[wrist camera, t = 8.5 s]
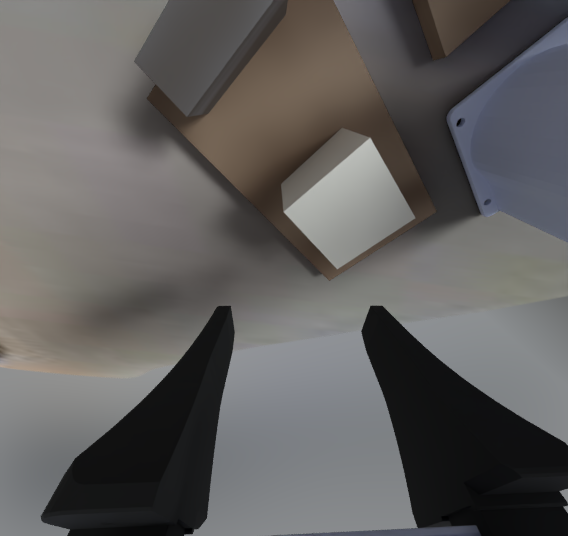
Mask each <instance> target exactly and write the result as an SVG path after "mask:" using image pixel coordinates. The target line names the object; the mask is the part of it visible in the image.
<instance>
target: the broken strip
mask: <svg viewBox="0 0 568 536" xmlns="http://www.w3.org/2000/svg"><path fill="white" fill-rule="evenodd" d="M412 1H413V4H414V7H415V10H416V13H417V16H418V19H419V21H420V24H421V27H422V30H423V33H424V36H425V38H426V41H427V44H428V47H429V50H430V53H431V56H432V58H433V61H434V60H437V59H441V58H445V57H447V56H448V55H449V54H450V53H451V52H452V51H453V50H455V49H456V48H457V47H458V46H459V45H460V44H461V43H463V42H464V41H465V40H466V39H467V38H468V37H469V36H471V35H472V34H473V33H474V32H475V31H476V30H477V29H478V28H480V27H481V26H482V25H483V24H484V23H485V22H486V21H488V20H489V19H490V18H491V17H492V16H493V15H494V14H495V13H497V12H498V11H499V10H500V9H501V8H502V7H503V6H505V5H506V4H507V3H508V2H509V1H510V0H412Z"/></svg>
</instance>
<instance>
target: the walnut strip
mask: <svg viewBox="0 0 568 536" xmlns="http://www.w3.org/2000/svg"><path fill="white" fill-rule="evenodd" d="M134 62H135V63H136V64H137V65H138V66H139V67H140V68H141V69H142V70H143V71H144V72H145V73H146V75H147V76H148V77H149V78H150V79H151V80H152V81H153V82H154V83H155V84H156V85H155V86H154V88H153V89H152V91H151V93H150V94H149V96H148V97H147V99H148V100H149V101H150V102H151V103H152V104H153V105H154V106H155V107H156V108H157V109H158V110H159V111H160V112H161V113H162V114H163V115H164V116H165V117H166V118H167V119H168V120H169V121H170V122H171V123H172V124H173V125H174V126H175V127H176V128H177V129H178V130H179V131H180V132H181V133H182V134H183V135H184V136H185V137H186V138H187V139H188V140H189V141H190V142H191V143H192V144H193V145H194V146H195V147H196V148H197V149H198V150H199V151H200V152H201V153H202V154H203V155H204V156H205V157H206V158H207V159H208V160H209V161H210V162H211V163H212V164H213V165H214V166H215V167H216V168H217V169H218V170H219V171H220V172H221V173H222V174H223V175H224V176H225V177H226V178H227V179H228V180H229V181H230V182H231V183H232V184H233V185H234V186H235V187H236V188H237V189H238V190H239V191H240V192H241V193H242V194H243V195H244V196H245V197H246V198H247V199H248V200H249V201H250V202H251V203H252V204H253V205H254V206H255V207H256V208H257V209H258V210H259V211H260V212H261V213H262V214H263V215H264V216H265V217H266V218H267V219H268V220H269V221H270V222H271V223H272V224H273V225H274V226H275V227H276V228H277V229H278V230H279V231H280V232H281V233H282V234H283V235H284V236H285V237H286V238H287V239H288V240H289V241H290V242H291V243H292V244H293V245H294V246H295V247H296V248H297V249H298V250H299V251H300V252H301V253H302V254H303V255H304V256H305V257H306V258H307V259H308V260H309V261H310V262H311V263H312V264H313V265H314V266H315V267H316V268H317V269H318V270H319V271H320V272H321V273H322V274H323V275H324V276H325V277H326V278H327V279H328V280H329V281H330V280H331V279H333V278H334V277H336V276H338V275H339V274H341V273H342V272H344V271H345V270H347V269H348V268H350V267H352V266H353V265H355V264H356V263H358V262H359V261H361V260H362V259H364V258H366V257H367V256H369V255H370V254H372V253H373V252H375V251H377V250H378V249H380V248H381V247H383V246H384V245H386V244H387V243H389V242H391V241H392V240H394V239H395V238H397V237H398V236H400V235H401V234H403V233H405V232H406V231H408V230H409V229H411V228H412V227H414V226H415V225H417V224H419V223H420V222H422V221H423V220H425V219H426V218H428V217H429V216H431V215H433V214H434V213H436V212H437V210H436V208H435V206H434V204H433V202H432V200H431V198H430V196H429V194H428V192H427V190H426V188H425V186H424V184H423V182H422V180H421V178H420V176H419V174H418V172H417V170H416V168H415V166H414V164H413V162H412V160H411V158H410V156H409V154H408V152H407V149H406V147H405V145H404V143H403V141H402V139H401V137H400V135H399V133H398V131H397V129H396V127H395V125H394V123H393V121H392V119H391V117H390V115H389V113H388V111H387V109H386V107H385V105H384V103H383V101H382V99H381V97H380V95H379V93H378V91H377V88H376V86H375V84H374V82H373V80H372V78H371V76H370V74H369V72H368V70H367V68H366V66H365V64H364V62H363V60H362V58H361V56H360V54H359V52H358V50H357V48H356V46H355V44H354V42H353V40H352V38H351V36H350V34H349V32H348V29H347V27H346V25H345V23H344V21H343V19H342V17H341V15H340V13H339V11H338V9H337V7H336V5H335V3H334V1H333V0H169V1H168V3H167V5H166V6H165V8H164V10H163V12H162V13H161V15H160V17H159V19H158V20H157V22H156V24H155V26H154V27H153V29H152V31H151V33H150V34H149V36H148V38H147V40H146V41H145V43H144V45H143V47H142V48H141V50H140V52H139V54H138V55H137V57H136V59H135V61H134ZM341 128H344V129H347V130H350V131H353V132H356V133H358V134H361V135H364V136H367V137H370V138H371V140H372V142H373V144H374V145H375V147H376V149H377V151H378V152H379V154H380V156H381V158H382V159H383V161H384V163H385V165H386V167H387V168H388V170H389V172H390V174H391V175H392V177H393V179H394V181H395V183H396V184H397V186H398V188H399V190H400V191H401V193H402V195H403V197H404V198H405V200H406V202H407V204H408V206H409V207H410V209H411V211H412V213H413V214H414V216H415V219H413V220H412V221H410V222H409V223H407V224H406V225H404V226H403V227H401V228H400V229H398V230H397V231H395V232H394V233H392V234H390V235H389V236H387V237H386V238H384V239H383V240H381V241H380V242H378V243H377V244H375V245H374V246H372V247H371V248H369V249H368V250H366V251H365V252H363V253H361V254H360V255H358V256H357V257H355V258H354V259H352V260H351V261H349V262H348V263H346V264H345V265H343V266H342V267H340V268H339V269H336V268H335V266H334V265H333V264H332V263H331V262H330V261H329V260H328V259H327V258H326V257H325V256H324V255H323V254H322V253H321V251H320V250H319V249H318V248H317V247H316V246H315V245H314V244H313V243H312V242H311V241H310V240H309V239H308V238H307V236H306V235H305V234H304V233H303V232H302V231H301V230H300V229H299V228H298V227H297V226H296V225H295V224H294V223H293V221H292V220H291V219H290V218H289V217H288V216H287V215H286V214H285V213H284V212H283V200H282V189H281V184H282V183H283V182H284V181H285V180H286V179H287V178H288V177H289V176H290V175H291V174H292V173H294V172H295V171H296V170H297V169H298V168H299V167H300V166H301V165H302V164H303V163H304V162H305V161H307V160H308V159H309V158H310V157H311V156H312V155H313V154H314V153H315V152H316V151H317V150H318V149H320V148H321V147H322V146H323V145H324V144H325V143H326V142H327V141H328V140H329V139H330V138H332V137H333V136H334V135H335V134H336V133H337V132H338V131H339V130H340V129H341Z"/></svg>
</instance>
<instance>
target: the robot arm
mask: <svg viewBox="0 0 568 536" xmlns="http://www.w3.org/2000/svg"><path fill="white" fill-rule="evenodd" d="M460 118H461V122H460V124H459V125H458V126H456V123H457V121H458V120H459V119H460ZM447 123H448V126H449V128H450V131H451V134H452V137H453V139H454V142H455V145H456V147H457V150H458V153H459V156H460V158H461V161H462V164H463V166H464V169H465V172H466V175H467V177H468V180H469V183H470V185H471V188H472V191H473V194H474V196H475V199H476V202H477V205H478V207H479V210H480V213H481V214H482V215H483V216H486V217H488V216H491V215H493V214H495V213H496V212H498V211H502V212H504V213H506V214H508V215H511V216H513V217H515V218H517V219H519V220H521V221H523V222H525V223H527V224H530V225H532V226H534V227H536V228H538V229H540V230H542V231H544V232H547V233H549V234H551V235H553V236H555V237H557V238H559V239H561V240H563V241H566V242H568V17H567V18H566V19H564V20H563V21H562V22H561V23H559V24H558V25H557V26H556V27H554V28H553V29H552V30H551V31H549V32H548V33H547V34H545V35H544V36H543V37H542V38H540V39H539V40H538V41H537V42H535V43H534V44H533V45H532V46H530V47H529V48H528V49H527V50H525V51H524V52H523V53H521V54H520V55H519V56H518V57H516V58H515V59H514V60H513V61H511V62H510V63H509V64H508V65H506V66H505V67H504V68H503V69H501V70H500V71H499V72H497V73H496V74H495V75H494V76H492V77H491V78H490V79H489V80H487V81H486V82H485V83H484V84H482V85H481V86H480V87H479V88H477V89H476V90H475V91H473V92H472V93H471V94H470V95H468V96H467V97H466V98H465V99H463V100H462V101H461V102H460V103H458V104H457V105H456V106H454V107H453V108H452V109H451V110H450V111H449V113H448V115H447ZM486 200H487V201H486ZM485 201H486V202H485ZM484 202H485V203H484ZM361 332H362V336H363V340H364V344H365V348H366V351H367V354H368V356H369V359H370V362H371V364H372V367H373V369H374V372H375V374H376V377H377V379H378V382H379V385H380V387H381V390H382V392H383V395H384V398H385V401H386V404H387V407H388V411H389V414H390V418H391V421H392V424H393V428H394V432H395V436H396V440H397V444H398V447H399V451H400V456H401V460H402V464H403V468H404V473H405V478H406V482H407V487H408V492H409V497H410V501H411V507H412V512H413V515H414V518H415V521H416V524H417V527H418V528H411V529H392V530H372V531H352V532H332V533H312V534H294V535H293V534H292V535H273V536H568V513H567V512H566V510H565V509H564V507H563V506H567V505H568V503H567V501H566V500H565V499H564V497H563V496H562V494H561V493H560V492H559V491H561V490H564V489H568V445H567V444H566V443H565V442H563V441H561V440H560V439H558V438H556V437H554V436H553V435H551V434H549V433H547V432H546V431H544V430H542V429H540V428H539V427H537V426H535V425H534V424H532V423H530V422H528V421H526V420H525V419H523V418H522V417H520V416H518V415H516V414H515V413H514V412H512V411H510V410H509V409H507V408H505V407H504V406H502V405H501V404H499V403H498V402H496V401H495V400H493V399H492V398H490V397H489V396H487V395H486V394H484V393H483V392H481V391H480V390H479V389H477V388H476V387H474V386H473V385H471V384H470V383H469V382H467V381H466V380H464V379H463V378H462V377H460V376H459V375H458V374H457V373H455V372H454V371H453V370H452V369H450V368H449V367H448V366H447V365H445V364H444V363H443V362H442V361H440V360H439V359H438V358H437V357H436V356H435V355H433V354H432V353H431V352H430V351H429V350H428V349H426V348H425V347H424V346H423V345H422V344H421V343H420V342H419V341H417V339H416V338H414V337H413V336H412V335H411V334H410V333H409V332H408V331H407V330H406V329H405V328H404V327H403V326H402V325H401V324H400V323H399V322H398V321H397V320H396V319H395V318H394V317H393V316H392V315H391V314H390V313H389V312H388V311H387V310H386V309H385V308H384V307H383V306H370V309H369V312H368V314H367V317H366V320H365V323H364V325H363V328H362V331H361ZM234 333H235V331H234V325H233V318H232V311H231V306H218V307H217V308H216V310H215V311H214V313H213V315H212V316H211V318H210V320H209V321H208V323H207V324H206V326H205V327H204V329H203V330H202V332H201V333H200V334H199V336H198V337H197V339H196V340H195V341H194V343H193V344H192V345H191V347H190V348H189V349H188V351H187V352H186V353H185V354H184V356H183V357H182V358H181V359H180V361H179V362H178V363H177V364H176V365H175V367H174V368H173V369H172V370H171V371H170V372H169V373H168V375H167V376H166V377H165V378H164V379H163V380H162V381H161V382H160V383H159V384H158V385H157V386H156V387H155V388H154V389H153V390H152V391H151V392H150V393H149V394H148V395H147V396H146V397H145V398H144V399H143V400H142V401H141V402H140V403H139V404H138V405H137V406H136V407H135V408H134V409H133V410H131V411H130V412H129V413H128V414H127V415H126V416H125V417H124V418H123V419H122V420H120V421H119V422H118V423H117V424H116V425H115V426H114V427H113V428H111V429H110V430H109V431H108V432H107V433H105V434H104V435H103V436H102V437H101V438H99V439H98V440H97V441H96V442H95V443H93V444H92V445H91V446H90V447H89V448H87V449H86V450H85V451H84V452H82V453H81V454H80V455H79V456H78V457H77V458H75V460H74V461H73V463H72V464H71V466H70V467H69V469H68V470H67V472H66V473H65V475H64V476H63V478H62V480H61V482H60V483H59V485H58V487H57V489H56V490H55V492H54V494H53V496H52V497H51V499H50V501H49V503H48V505H47V506H46V509H45V510H44V512H43V514H42V516H41V520H42V521H43V522H44V523H47V524H50V525H54V526H59V527H62V528H67V529H70V531H69V533H68V535H67V536H184V534H193V532H194V529H198V528H199V527H200V526H201V525H202V524H203V522H204V521H205V520H206V518H207V511H208V502H209V492H210V483H211V474H212V465H213V457H214V449H215V441H216V433H217V426H218V419H219V411H220V405H221V400H222V395H223V390H224V386H225V382H226V377H227V373H228V369H229V364H230V360H231V355H232V350H233V342H234Z"/></svg>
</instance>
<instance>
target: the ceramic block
mask: <svg viewBox="0 0 568 536" xmlns="http://www.w3.org/2000/svg"><path fill="white" fill-rule="evenodd" d="M281 189H282V200H283V212H284V213H285V214H286V215H287V216H288V217H289V218H290V219H291V220H292V221H293V223H294V224H295V225H296V226H297V227H298V228H299V229H300V230H301V231H302V232H303V233H304V234H305V235H306V236H307V238H308V239H309V240H310V241H311V242H312V243H313V244H314V245H315V246H316V247H317V248H318V249H319V250H320V251H321V253H322V254H323V255H324V256H325V257H326V258H327V259H328V260H329V261H330V262H331V263H332V264H333V265H334V266H335V268H336V269H339V268H340V267H342V266H343V265H345V264H346V263H348V262H349V261H351V260H352V259H354V258H355V257H357V256H358V255H360V254H361V253H363V252H365V251H366V250H368V249H369V248H371V247H372V246H374V245H375V244H377V243H378V242H380V241H381V240H383V239H384V238H386V237H387V236H389V235H390V234H392V233H394V232H395V231H397V230H398V229H400V228H401V227H403V226H404V225H406V224H407V223H409V222H410V221H412V220H413V219H415V216H414V214H413V213H412V211H411V209H410V207H409V206H408V204H407V202H406V200H405V198H404V197H403V195H402V193H401V191H400V190H399V188H398V186H397V184H396V183H395V181H394V179H393V177H392V175H391V174H390V172H389V170H388V168H387V167H386V165H385V163H384V161H383V159H382V158H381V156H380V154H379V152H378V151H377V149H376V147H375V145H374V144H373V142H372V140H371V138H370V137H367V136H364V135H361V134H358V133H356V132H353V131H350V130H347V129H344V128H341V129H340V130H339V131H338V132H337V133H336V134H335V135H334V136H333V137H332V138H330V139H329V140H328V141H327V142H326V143H325V144H324V145H323V146H322V147H321V148H320V149H318V150H317V151H316V152H315V153H314V154H313V155H312V156H311V157H310V158H309V159H308V160H307V161H305V162H304V163H303V164H302V165H301V166H300V167H299V168H298V169H297V170H296V171H295V172H294V173H292V174H291V175H290V176H289V177H288V178H287V179H286V180H285V181H284V182H283V183H282V184H281Z"/></svg>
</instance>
